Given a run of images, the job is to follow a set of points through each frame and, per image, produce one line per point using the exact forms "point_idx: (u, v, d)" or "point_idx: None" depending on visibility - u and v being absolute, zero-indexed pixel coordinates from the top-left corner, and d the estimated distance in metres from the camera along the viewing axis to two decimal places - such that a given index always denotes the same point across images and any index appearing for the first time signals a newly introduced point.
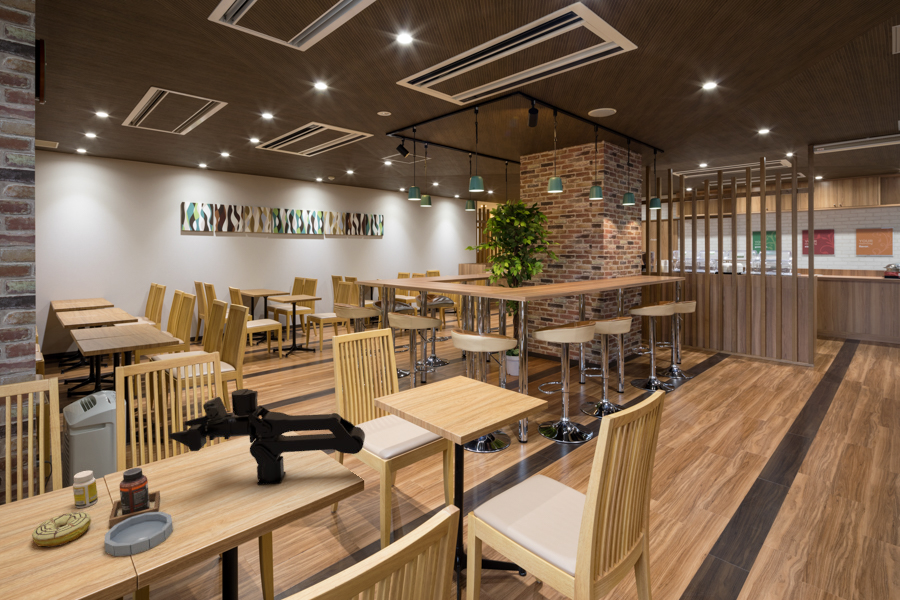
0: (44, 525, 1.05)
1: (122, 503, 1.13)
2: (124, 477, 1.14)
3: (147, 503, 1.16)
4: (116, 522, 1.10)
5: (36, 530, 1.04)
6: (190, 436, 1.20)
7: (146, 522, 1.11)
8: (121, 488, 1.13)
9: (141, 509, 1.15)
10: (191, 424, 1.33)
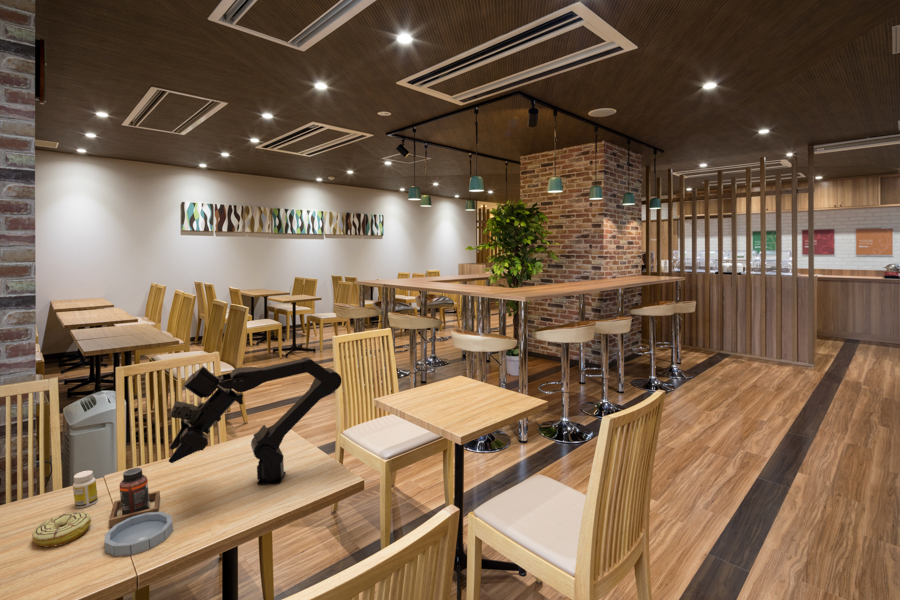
0: (44, 525, 1.05)
1: (122, 503, 1.13)
2: (124, 477, 1.14)
3: (147, 503, 1.16)
4: (116, 522, 1.10)
5: (36, 530, 1.04)
6: (189, 440, 1.13)
7: (146, 522, 1.11)
8: (121, 488, 1.13)
9: (141, 509, 1.15)
10: (177, 444, 1.24)
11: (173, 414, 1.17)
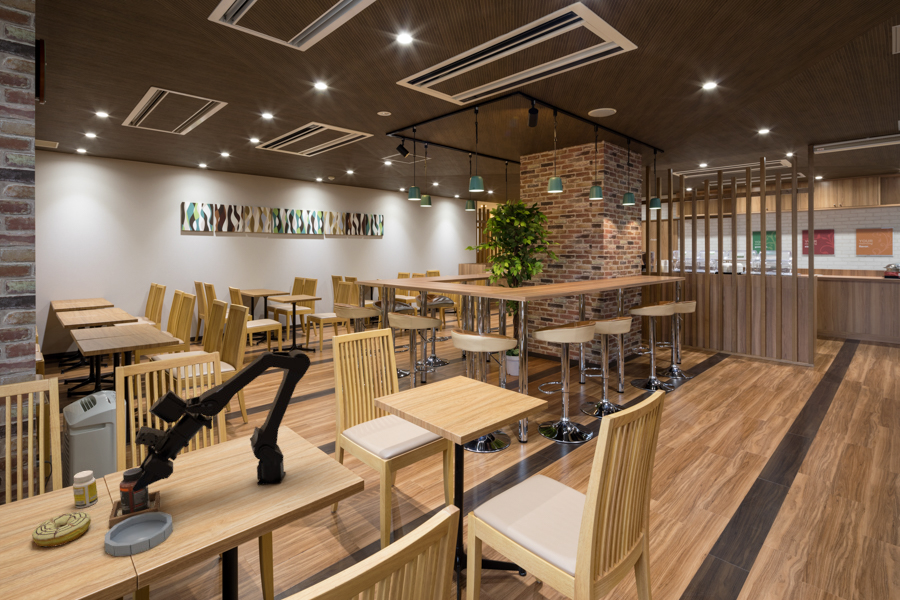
0: (44, 525, 1.05)
1: (122, 503, 1.13)
2: (124, 477, 1.14)
3: (147, 503, 1.16)
4: (116, 522, 1.10)
5: (36, 530, 1.04)
6: (152, 469, 1.09)
7: (146, 522, 1.11)
8: (121, 488, 1.13)
9: (141, 509, 1.15)
10: (143, 470, 1.20)
11: (138, 440, 1.13)
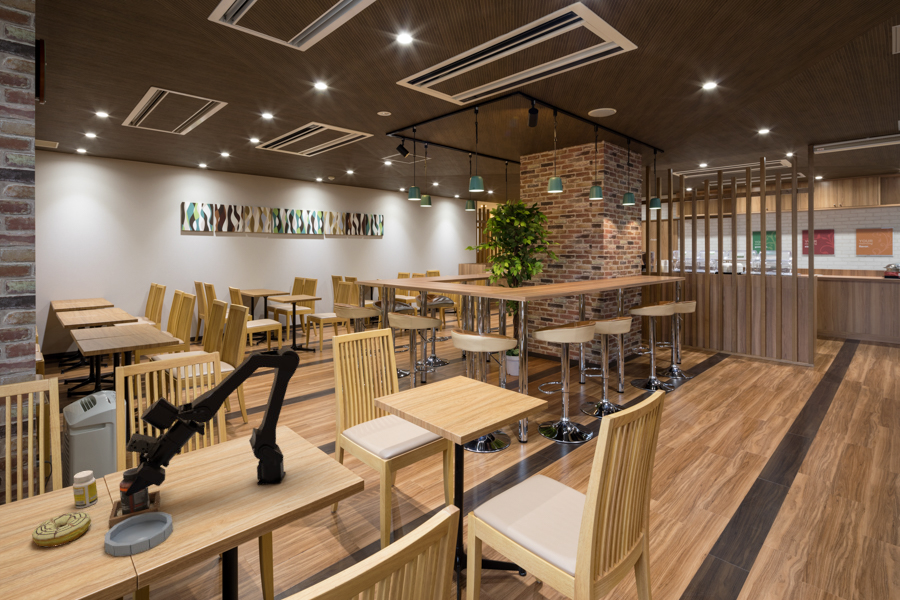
0: (44, 525, 1.05)
1: (122, 503, 1.13)
2: (124, 477, 1.14)
3: (147, 503, 1.16)
4: (116, 522, 1.10)
5: (36, 530, 1.04)
6: (144, 476, 1.09)
7: (146, 522, 1.11)
8: (121, 488, 1.13)
9: (141, 509, 1.15)
10: None
11: (129, 448, 1.13)
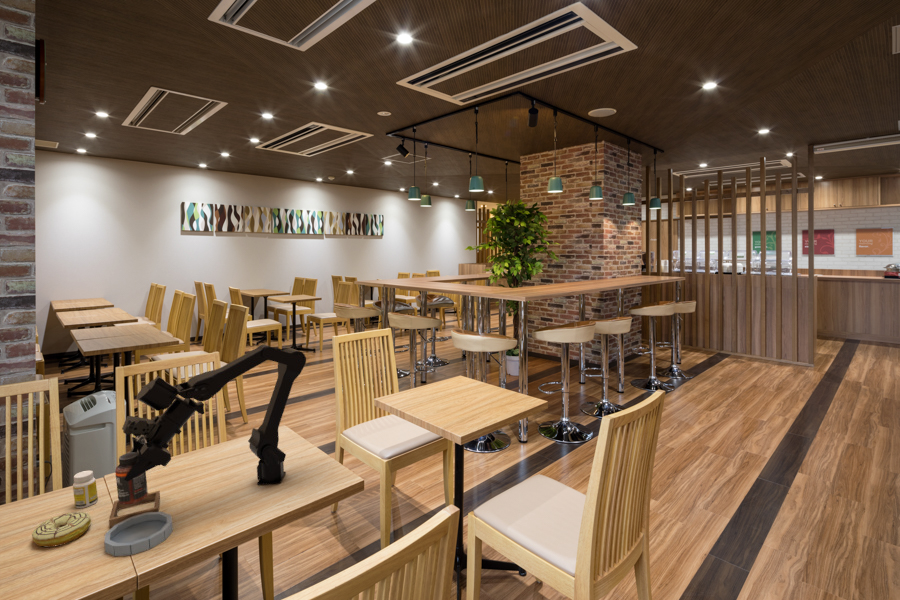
0: (44, 525, 1.05)
1: (120, 489, 1.07)
2: (121, 462, 1.07)
3: (146, 488, 1.11)
4: (116, 522, 1.10)
5: (36, 530, 1.04)
6: (150, 457, 1.04)
7: (146, 522, 1.11)
8: (119, 474, 1.07)
9: (141, 494, 1.09)
10: None
11: (127, 430, 1.07)
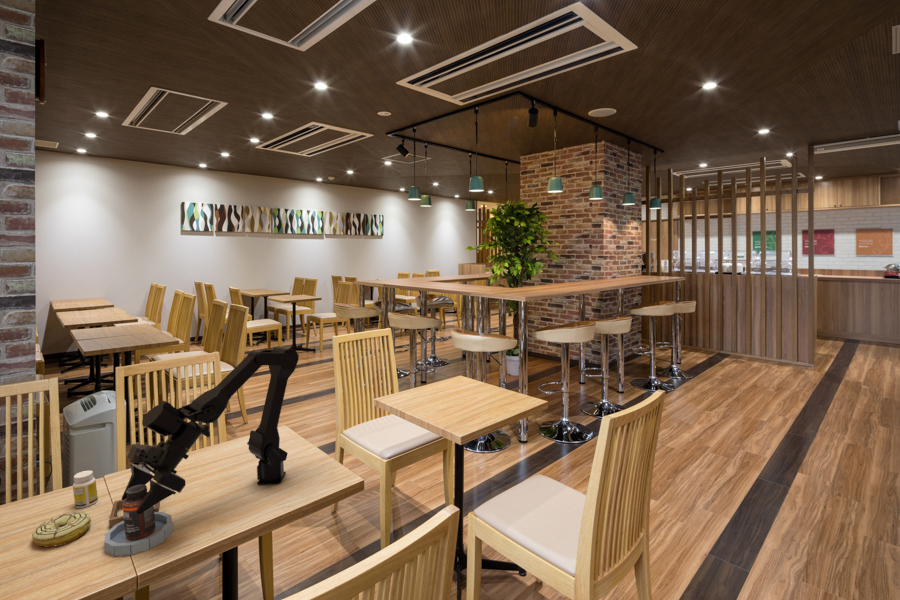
0: (44, 525, 1.05)
1: (129, 525, 1.03)
2: (130, 496, 1.03)
3: (154, 520, 1.07)
4: (116, 522, 1.10)
5: (36, 530, 1.04)
6: (166, 484, 1.01)
7: None
8: (128, 508, 1.02)
9: (151, 527, 1.06)
10: None
11: (136, 459, 1.03)
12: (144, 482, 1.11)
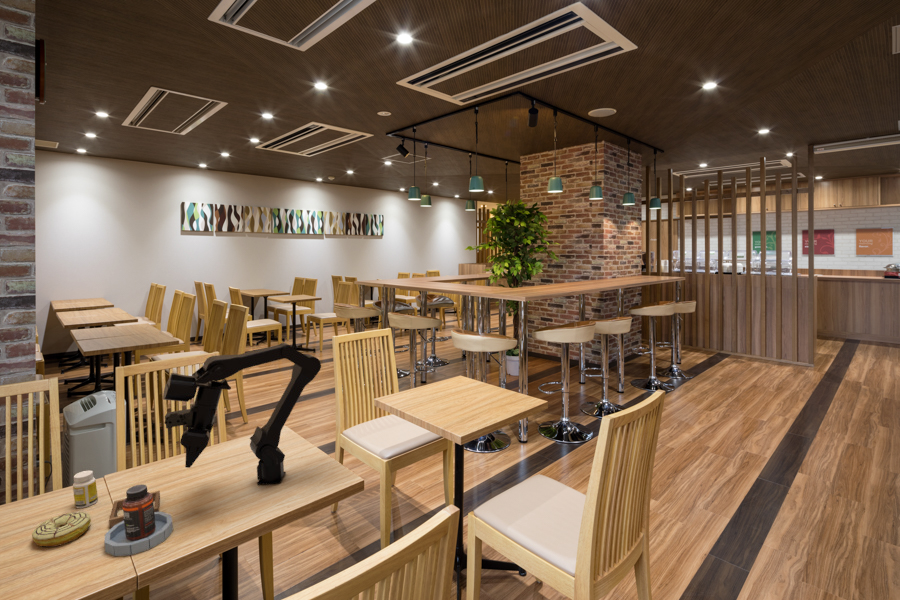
0: (44, 525, 1.05)
1: (129, 525, 1.03)
2: (130, 496, 1.03)
3: (154, 520, 1.07)
4: (116, 522, 1.10)
5: (36, 530, 1.04)
6: (188, 442, 1.11)
7: None
8: (128, 508, 1.02)
9: (151, 527, 1.06)
10: None
11: (167, 425, 1.16)
12: None
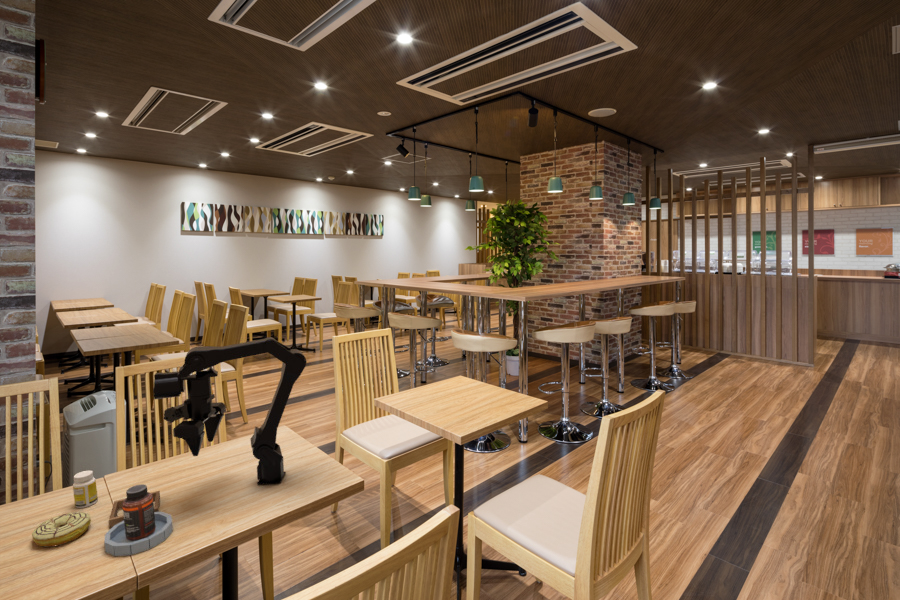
0: (44, 525, 1.05)
1: (129, 525, 1.03)
2: (130, 496, 1.03)
3: (154, 520, 1.07)
4: (116, 522, 1.10)
5: (36, 530, 1.04)
6: (179, 435, 1.14)
7: None
8: (128, 508, 1.02)
9: (151, 527, 1.06)
10: (211, 435, 1.29)
11: None
12: (215, 424, 1.29)
